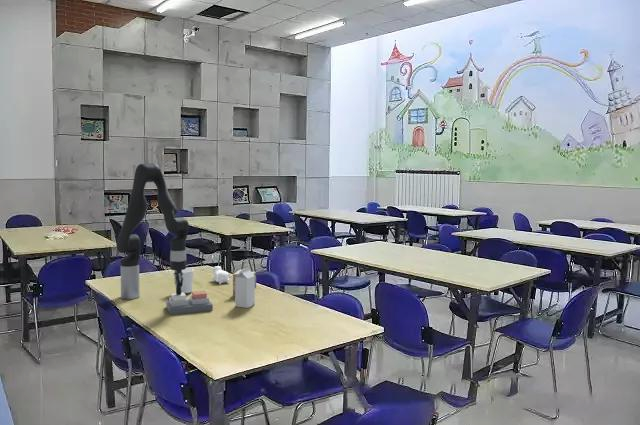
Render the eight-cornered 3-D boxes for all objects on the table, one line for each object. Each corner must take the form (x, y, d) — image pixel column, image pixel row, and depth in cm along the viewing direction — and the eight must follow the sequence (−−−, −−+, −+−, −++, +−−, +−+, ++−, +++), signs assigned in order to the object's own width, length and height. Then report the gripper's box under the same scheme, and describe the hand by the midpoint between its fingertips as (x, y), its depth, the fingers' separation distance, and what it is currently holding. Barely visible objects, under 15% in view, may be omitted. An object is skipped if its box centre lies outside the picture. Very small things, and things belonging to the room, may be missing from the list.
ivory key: (173, 302, 250) (173, 296, 250) (171, 299, 255) (171, 293, 255) (186, 301, 252) (185, 295, 252) (184, 298, 258) (183, 292, 257)
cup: (183, 296, 280) (182, 272, 279) (171, 293, 286) (171, 270, 284) (197, 292, 288) (197, 270, 286) (186, 289, 294) (186, 267, 292)
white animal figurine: (230, 287, 313) (221, 274, 324) (232, 275, 309) (223, 262, 321) (216, 289, 308) (208, 275, 320) (218, 277, 305) (210, 263, 316)
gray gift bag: (245, 286, 303) (246, 266, 302) (256, 287, 302) (256, 266, 301) (232, 296, 283) (232, 273, 281) (243, 296, 281) (243, 274, 280)
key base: (170, 314, 246) (170, 303, 245) (166, 307, 259) (166, 296, 258) (212, 310, 254) (212, 299, 253) (206, 303, 267) (206, 292, 266)
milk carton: (254, 304, 265) (254, 268, 263) (247, 308, 259) (247, 270, 257) (242, 303, 268) (243, 266, 266) (235, 306, 262) (235, 269, 260)
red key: (194, 300, 254) (194, 294, 254) (192, 297, 259) (192, 291, 259) (206, 299, 256) (206, 293, 256) (204, 296, 262) (204, 290, 261)
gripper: (168, 257, 256) (168, 292, 258) (172, 262, 244) (172, 298, 246) (183, 256, 259) (184, 290, 261) (188, 261, 247) (188, 297, 249)
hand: (178, 294), depth 253 cm, fingers closed
